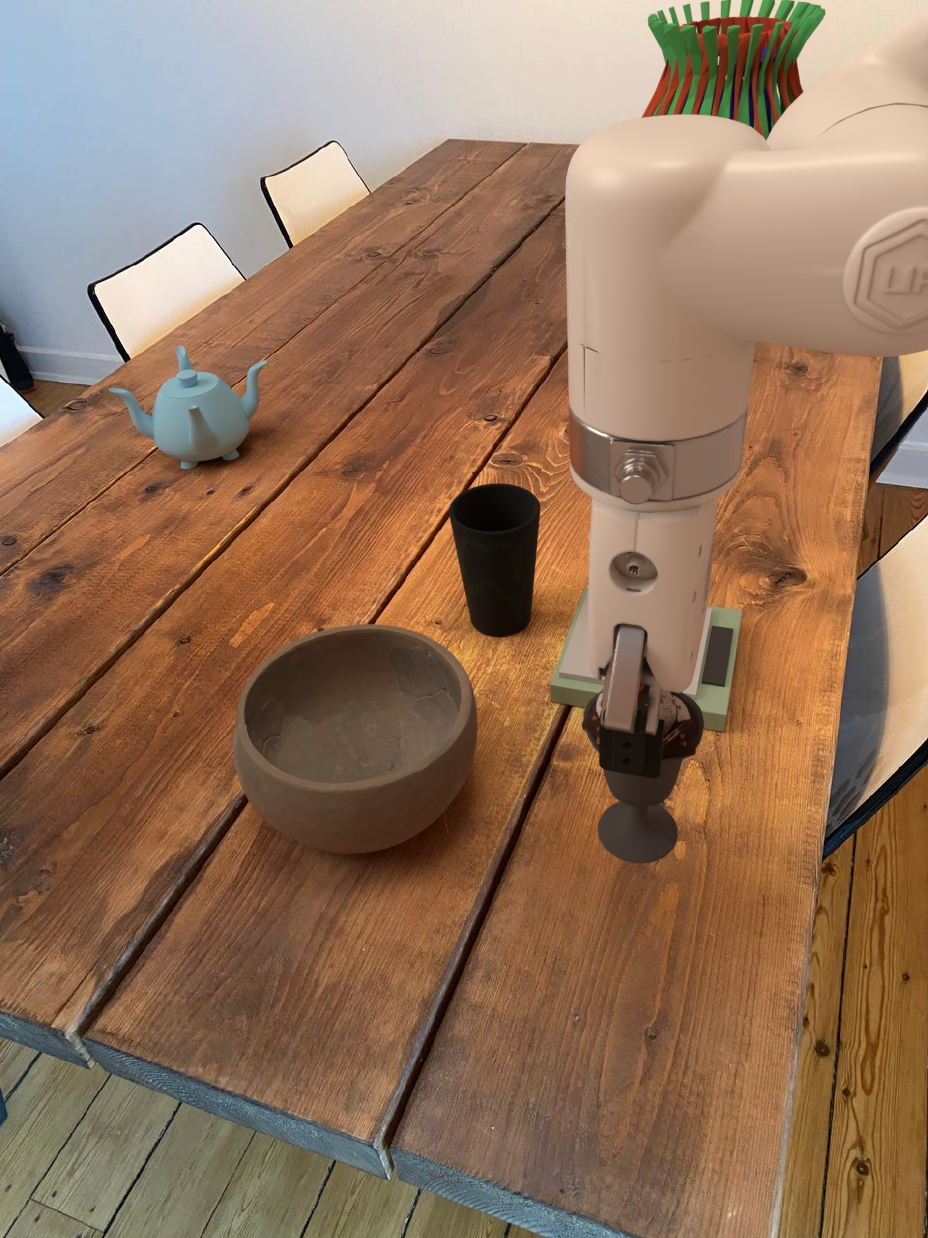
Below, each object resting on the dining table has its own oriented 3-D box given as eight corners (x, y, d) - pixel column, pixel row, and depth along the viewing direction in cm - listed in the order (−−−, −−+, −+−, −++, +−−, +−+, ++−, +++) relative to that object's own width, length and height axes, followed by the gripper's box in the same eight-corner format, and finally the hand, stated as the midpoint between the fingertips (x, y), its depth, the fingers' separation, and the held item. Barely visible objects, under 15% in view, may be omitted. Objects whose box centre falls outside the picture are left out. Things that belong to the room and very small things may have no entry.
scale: (740, 627, 83) (743, 604, 82) (724, 732, 74) (727, 709, 73) (583, 604, 87) (584, 582, 86) (550, 701, 78) (549, 679, 76)
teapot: (131, 465, 113) (104, 387, 106) (203, 415, 121) (182, 340, 115) (215, 487, 108) (192, 407, 101) (284, 433, 116) (267, 355, 110)
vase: (789, 180, 179) (816, -9, 160) (819, 233, 156) (855, 20, 137) (627, 186, 183) (635, 2, 163) (633, 240, 160) (643, 33, 140)
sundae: (579, 791, 62) (577, 616, 52) (683, 788, 61) (700, 611, 52) (585, 877, 57) (584, 701, 47) (699, 875, 56) (720, 696, 47)
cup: (550, 596, 89) (549, 487, 81) (531, 650, 83) (528, 538, 75) (471, 586, 91) (463, 478, 83) (448, 638, 85) (436, 527, 77)
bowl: (476, 699, 79) (468, 606, 72) (490, 881, 65) (482, 786, 59) (270, 715, 79) (244, 624, 73) (241, 900, 65) (206, 808, 59)
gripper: (721, 564, 34) (689, 861, 46) (760, 355, 47) (727, 630, 58) (520, 541, 36) (538, 830, 48) (609, 347, 49) (606, 614, 60)
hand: (642, 718), depth 53 cm, fingers closed on sundae, 6 cm apart
